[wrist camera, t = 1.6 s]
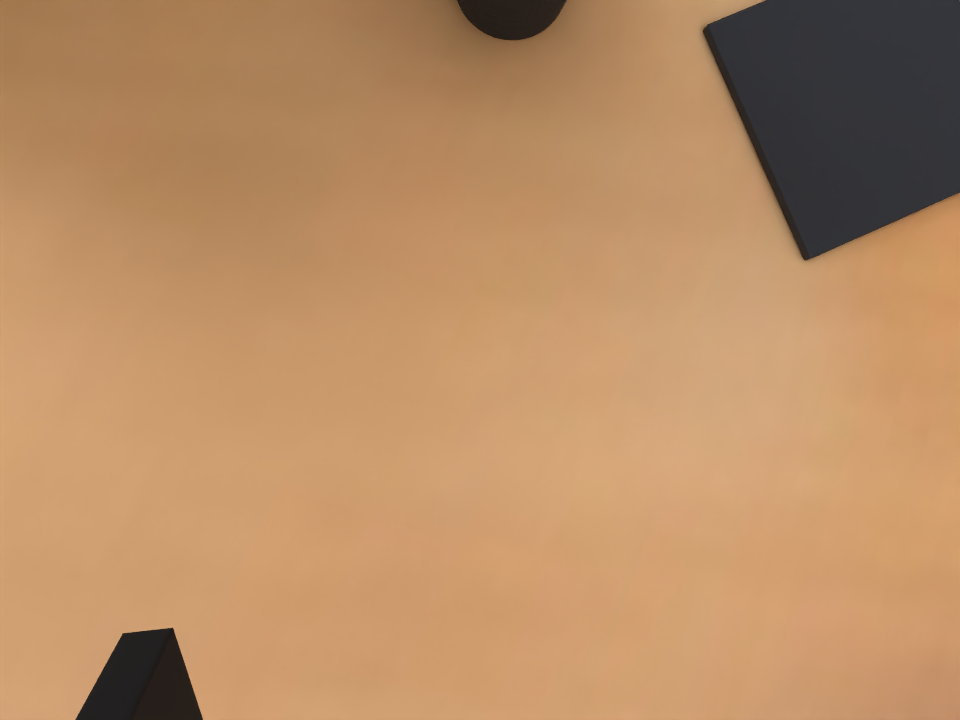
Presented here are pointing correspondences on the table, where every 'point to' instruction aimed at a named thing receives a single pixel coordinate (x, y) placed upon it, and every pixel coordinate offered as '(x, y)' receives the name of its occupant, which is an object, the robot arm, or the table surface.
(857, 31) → the coaster
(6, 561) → the table surface
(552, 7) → the drinking cup
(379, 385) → the table surface
